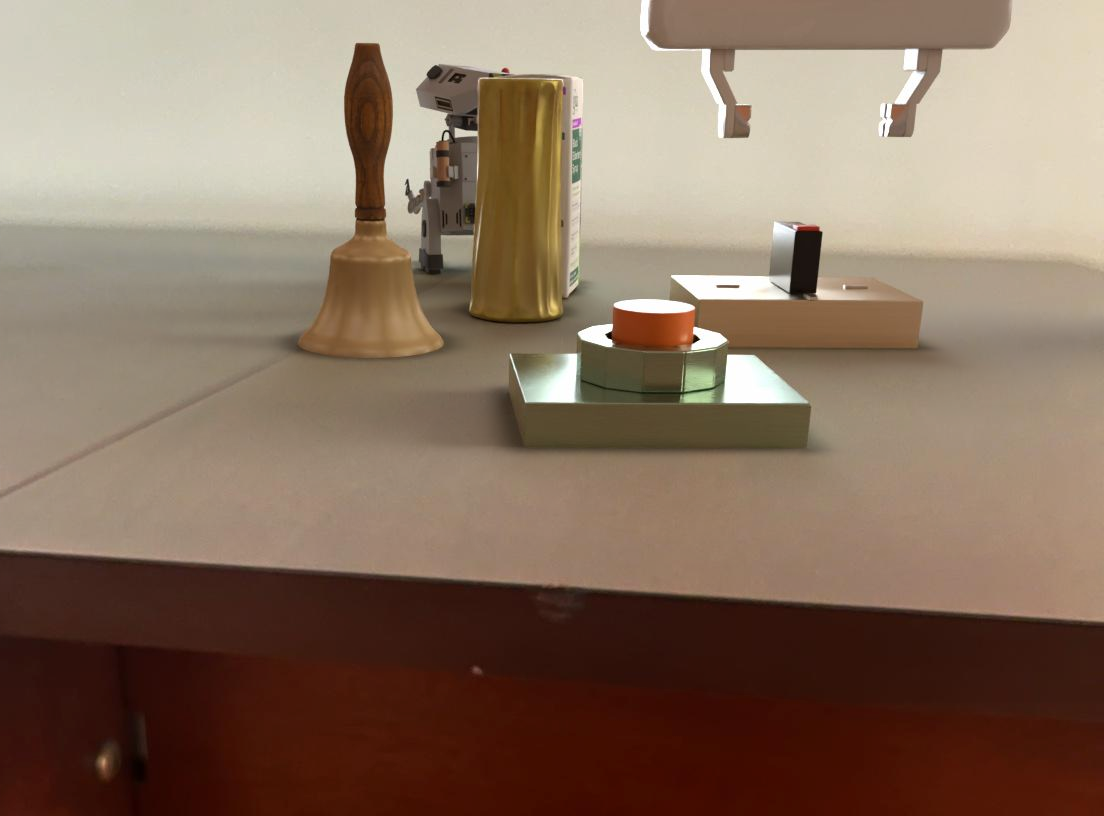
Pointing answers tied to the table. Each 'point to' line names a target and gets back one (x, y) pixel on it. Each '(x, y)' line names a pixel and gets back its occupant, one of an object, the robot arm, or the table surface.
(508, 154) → the vase
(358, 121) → the hand bell
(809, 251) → the black battery pack
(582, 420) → the button box
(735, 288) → the tan slotted base
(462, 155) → the figurine
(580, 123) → the syrup box
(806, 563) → the table surface
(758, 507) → the table surface
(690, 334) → the button
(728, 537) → the table surface
